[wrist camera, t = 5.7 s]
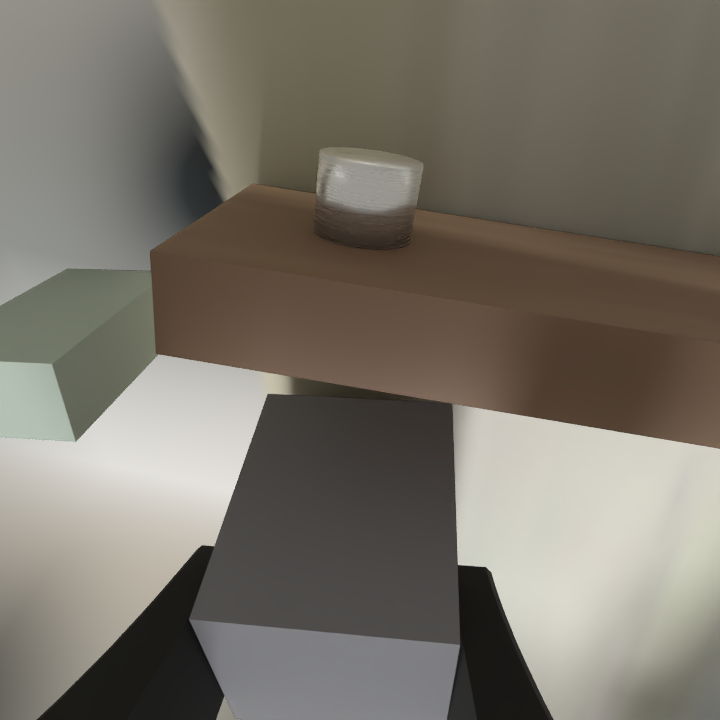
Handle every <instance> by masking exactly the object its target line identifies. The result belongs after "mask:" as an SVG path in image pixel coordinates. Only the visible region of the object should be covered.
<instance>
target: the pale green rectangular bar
mask: <svg viewBox="0 0 720 720" xmlns="http://www.w3.org/2000/svg"><path fill="white" fill-rule="evenodd" d="M157 355H158V354H156V349H155V331H154V313H153V295H152V277H151V271H137V270H100V269H97V270H96V269H95V270H94V269H66V270H64V271H62V272H61V273H58V274H57V275H55V276H53V277H51V278H50V279H48V280H46V281H44V282H42V283H40V284H39V285H37V286H35V287H33V288H31V289H30V290H28V291H26V292H24V293H22V294H21V295H19V296H17V297H15V298H13V299H12V300H10V301H8V302H6V303H4V304H2V305H1V306H0V437H5V438H22V439H39V440H55V441H73V442H76V441H77V440H78V439H79V438H80V437H81V436H82V435H83V434H84V433H85V431H86V430H87V429H88V428H89V427H90V426H91V425H92V424H93V423H94V422H95V421H96V420H97V419H98V418H99V417H100V416H101V415H102V413H103V412H104V411H105V410H106V409H107V408H108V407H109V406H110V405H111V404H112V403H113V402H114V401H115V399H117V398H118V396H120V394H121V393H122V392H123V391H124V390H125V389H126V388H127V387H128V386H129V385H130V384H131V383H132V382H133V381H134V380H135V379H136V377H137V376H138V375H139V374H140V373H141V372H142V371H143V370H144V369H145V368H146V367H147V366H148V365H149V364H150V363H151V362H152V361H153V360H154V359H155V357H156V356H157Z"/></svg>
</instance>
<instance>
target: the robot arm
mask: <svg viewBox="0 0 720 720" xmlns="http://www.w3.org/2000/svg"><path fill="white" fill-rule="evenodd" d="M213 549H214V546H201V547H200V548H198V549H197V550H196V551H195V553H194V554H193V555H192V556H191V557H190V559H189V560H188V561H187V562H186V563H185V564H184V565H183V567H182V568H181V569H180V570H179V571H178V572H177V574H176V575H175V576H174V577H173V578H172V580H171V581H170V582H169V583H168V584H167V585H166V586H165V588H164V589H163V590H162V591H161V592H160V593H159V594H158V596H157V597H156V598H155V599H154V600H153V601H152V602H151V604H150V605H149V606H148V607H147V608H146V609H145V610H144V611H143V613H141V615H140V616H139V617H138V618H137V619H136V620H135V621H134V622H133V623H132V624H131V625H130V626H129V628H128V629H127V630H126V631H125V632H124V633H123V634H122V635H121V636H120V637H119V638H118V639H117V641H116V642H115V643H114V644H113V645H112V646H111V647H110V648H109V649H108V650H107V651H106V652H105V653H104V654H103V655H102V656H101V657H100V658H99V659H98V660H97V661H96V662H95V663H94V664H93V665H92V666H91V668H89V669H88V670H87V671H86V672H85V673H84V674H83V675H82V676H81V677H80V678H79V679H78V680H77V681H76V682H75V684H74V685H72V686H71V687H70V688H69V689H68V690H67V691H66V692H65V693H64V694H63V695H62V696H61V697H60V698H59V699H58V700H57V701H56V702H55V703H54V704H53V705H52V706H51V707H50V708H49V709H48V710H46V711H45V712H44V713H43V714H42V715H41V716H40V717H39V718H38V719H37V720H216V718H217V714H218V712H219V709H220V706H221V704H222V701H223V698H224V694H223V691H222V689H221V687H220V685H219V683H218V681H217V679H216V676H215V674H214V672H213V670H212V668H211V666H210V663H209V661H208V659H207V657H206V655H205V653H204V651H203V648H202V646H201V644H200V642H199V640H198V638H197V636H196V633H195V631H194V629H193V627H192V625H191V623H190V621H189V618H190V615H191V612H192V609H193V606H194V604H195V601H196V598H197V595H198V592H199V589H200V586H201V584H202V581H203V578H204V575H205V572H206V569H207V566H208V564H209V561H210V558H211V555H212V552H213ZM458 593H459V623H460V649H459V654H458V660H457V666H456V671H455V677H454V682H453V688H452V693H451V699H450V704H449V710H448V716H447V720H553V718H552V716H551V714H550V712H549V710H548V708H547V706H546V704H545V702H544V700H543V698H542V696H541V694H540V692H539V690H538V688H537V686H536V683H535V681H534V679H533V677H532V675H531V673H530V671H529V669H528V667H527V664H526V662H525V660H524V658H523V656H522V653H521V651H520V649H519V647H518V644H517V642H516V640H515V637H514V635H513V632H512V630H511V627H510V625H509V623H508V620H507V618H506V615H505V612H504V610H503V607H502V604H501V602H500V599H499V596H498V593H497V590H496V587H495V584H494V581H493V577H492V573H491V572H490V571H489V570H488V569H487V568H486V567H475V566H462V565H458Z"/></svg>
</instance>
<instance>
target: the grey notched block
mask: <svg viewBox="0 0 720 720" xmlns="http://www.w3.org/2000/svg"><path fill="white" fill-rule="evenodd" d="M189 621H190V623H191V625H192V627H193V629H194V631H195V633H196V636H197V638H198V640H199V642H200V644H201V646H202V648H203V651H204V653H205V655H206V657H207V659H208V661H209V663H210V666H211V668H212V670H213V672H214V674H215V676H216V679H217V681H218V683H219V685H220V687H221V689H222V691H223V694H224V696H225V698H226V700H227V702H228V704H229V706H230V709H231V711H232V713H233V715H234V717H235V719H240V720H447V716H448V710H449V704H450V699H451V693H452V688H453V682H454V677H455V671H456V666H457V660H458V654H459V649H460V623H459V593H458V562H457V532H456V502H455V471H454V441H453V411H452V403H440V402H420V401H400V400H379V399H359V398H339V397H319V396H299V395H279V394H268V395H267V398H266V401H265V403H264V406H263V409H262V412H261V415H260V418H259V421H258V424H257V426H256V430H255V432H254V435H253V438H252V441H251V444H250V446H249V449H248V452H247V455H246V458H245V461H244V464H243V467H242V469H241V472H240V475H239V478H238V481H237V484H236V486H235V490H234V492H233V495H232V498H231V501H230V504H229V506H228V509H227V512H226V515H225V518H224V521H223V524H222V526H221V529H220V532H219V535H218V538H217V541H216V544H215V546H214V549H213V552H212V555H211V558H210V561H209V564H208V566H207V569H206V572H205V575H204V578H203V581H202V584H201V586H200V589H199V592H198V595H197V598H196V601H195V604H194V606H193V609H192V612H191V615H190V618H189Z"/></svg>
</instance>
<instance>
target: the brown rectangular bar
mask: <svg viewBox="0 0 720 720" xmlns="http://www.w3.org/2000/svg"><path fill="white" fill-rule="evenodd" d="M423 167H424V164H423V163H422V162H420V161H418V160H416V159H413V158H410V157H406V156H403V155H398V154H394V153H389V152H384V151H377V150H371V149H362V148H352V147H327V148H322V149H320V152H319V163H318V174H317V186H316V193H309V192H303V191H297V190H290V189H284V188H277V187H271V186H264V185H258V184H252V185H250V186H249V187H247V188H246V189H244V190H243V191H241V192H239V193H238V194H236V195H235V196H233V197H232V198H230V199H229V200H227V201H226V202H224V203H223V204H221V205H220V206H218V207H217V208H215V209H214V210H212V211H210V212H209V213H207V214H206V215H205V216H203V217H201V218H200V219H199V220H197V221H195V222H194V223H192V224H191V225H189V226H188V227H186V228H185V229H183V230H182V231H180V232H178V233H177V234H175V235H174V236H172V237H171V238H170V239H168V240H166V241H165V242H163V243H162V244H160V245H159V246H157V247H156V248H154V249H152V250H151V251H150V259H151V277H152V295H153V313H154V331H155V349H156V354H160V355H166V356H172V357H178V358H184V359H190V360H197V361H203V362H208V363H214V364H220V365H226V366H232V367H238V368H244V369H250V370H255V371H261V372H267V373H273V374H279V375H285V376H291V377H297V378H303V379H309V380H315V381H321V382H327V383H333V384H339V385H345V386H351V387H357V388H362V389H368V390H374V391H380V392H386V393H392V394H398V395H404V396H410V397H416V398H422V399H428V400H434V401H440V402H446V403H452V404H458V405H464V406H470V407H475V408H481V409H487V410H493V411H499V412H505V413H511V414H517V415H523V416H529V417H535V418H541V419H547V420H553V421H559V422H565V423H571V424H577V425H582V426H588V427H594V428H600V429H606V430H612V431H618V432H624V433H630V434H636V435H642V436H648V437H654V438H660V439H666V440H672V441H678V442H684V443H689V444H695V445H701V446H707V447H713V448H719V449H720V256H714V255H708V254H701V253H695V252H689V251H682V250H676V249H669V248H663V247H656V246H650V245H644V244H637V243H631V242H624V241H618V240H611V239H605V238H599V237H592V236H586V235H579V234H573V233H566V232H560V231H554V230H547V229H541V228H534V227H528V226H522V225H515V224H509V223H502V222H496V221H489V220H483V219H477V218H470V217H464V216H457V215H451V214H444V213H438V212H432V211H425V210H419V209H416V207H417V201H418V195H419V190H420V184H421V178H422V172H423Z"/></svg>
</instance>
